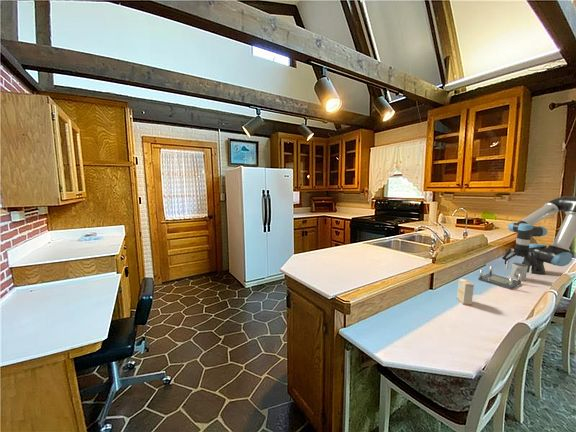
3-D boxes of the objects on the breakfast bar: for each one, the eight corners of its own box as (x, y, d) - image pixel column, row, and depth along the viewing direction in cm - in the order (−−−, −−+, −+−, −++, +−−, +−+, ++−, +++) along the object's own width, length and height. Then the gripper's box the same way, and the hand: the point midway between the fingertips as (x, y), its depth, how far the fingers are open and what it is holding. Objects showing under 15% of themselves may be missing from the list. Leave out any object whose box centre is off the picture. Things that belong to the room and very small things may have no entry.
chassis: (489, 274, 192) (490, 265, 191) (521, 283, 176) (522, 274, 175) (478, 279, 182) (479, 270, 181) (510, 289, 166) (512, 279, 165)
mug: (513, 275, 192) (515, 262, 190) (527, 279, 184) (529, 265, 183) (506, 278, 186) (508, 264, 184) (520, 282, 179) (523, 268, 177)
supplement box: (471, 305, 144) (474, 284, 142) (462, 304, 145) (465, 283, 143) (464, 298, 152) (467, 279, 150) (456, 298, 153) (458, 278, 151)
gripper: (499, 241, 190) (495, 267, 193) (544, 249, 169) (539, 278, 172) (503, 240, 193) (499, 265, 197) (547, 247, 172) (542, 276, 176)
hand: (517, 271), depth 184 cm, fingers open, 13 cm apart
